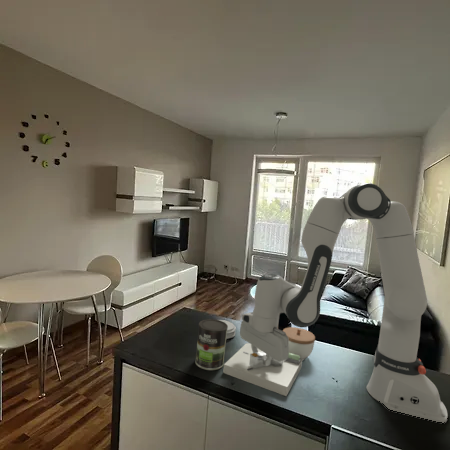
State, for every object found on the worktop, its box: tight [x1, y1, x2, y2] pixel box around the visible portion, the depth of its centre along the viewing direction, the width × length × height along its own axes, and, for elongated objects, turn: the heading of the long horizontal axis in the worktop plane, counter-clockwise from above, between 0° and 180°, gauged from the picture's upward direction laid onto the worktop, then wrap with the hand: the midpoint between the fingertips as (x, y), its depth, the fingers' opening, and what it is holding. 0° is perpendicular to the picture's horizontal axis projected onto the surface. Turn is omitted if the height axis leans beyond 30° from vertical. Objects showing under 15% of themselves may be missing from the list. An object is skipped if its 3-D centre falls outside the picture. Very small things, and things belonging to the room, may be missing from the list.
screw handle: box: [249, 351, 283, 369], centre depth 109 cm, size 13×6×4 cm, turn 120°
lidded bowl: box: [282, 326, 316, 361], centre depth 124 cm, size 13×13×11 cm
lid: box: [218, 319, 237, 340], centre depth 138 cm, size 13×13×5 cm
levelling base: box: [222, 342, 303, 397], centre depth 111 cm, size 22×20×5 cm
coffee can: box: [194, 318, 228, 371], centre depth 112 cm, size 10×10×14 cm
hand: (260, 361), depth 107 cm, fingers open, 4 cm apart
